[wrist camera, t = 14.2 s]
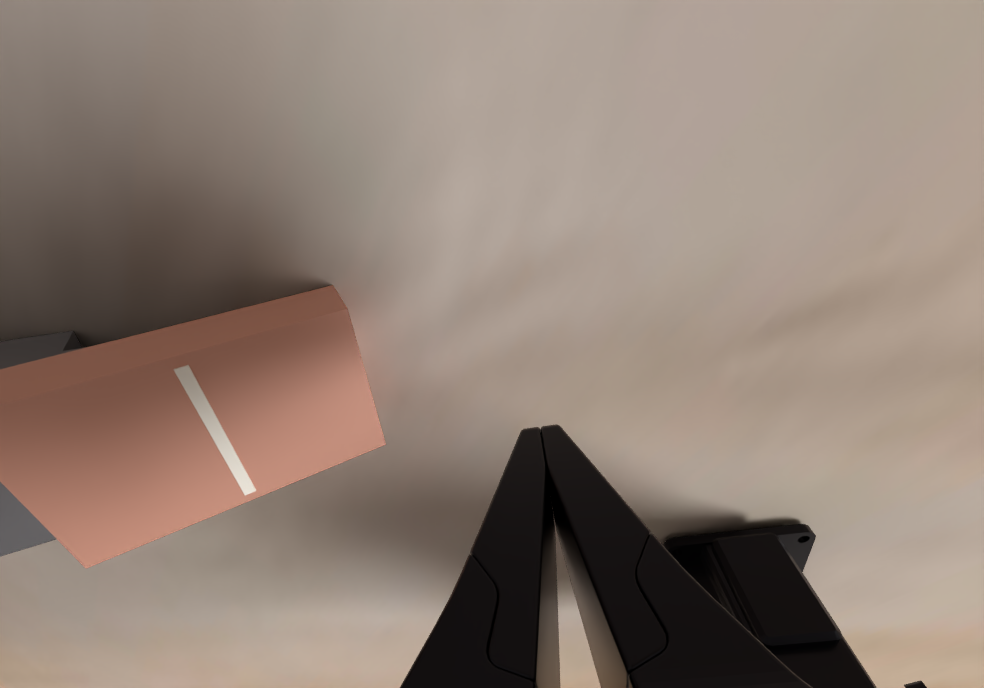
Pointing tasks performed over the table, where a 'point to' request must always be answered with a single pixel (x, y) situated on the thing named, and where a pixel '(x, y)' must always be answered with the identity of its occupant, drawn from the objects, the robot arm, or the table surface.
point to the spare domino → (184, 421)
